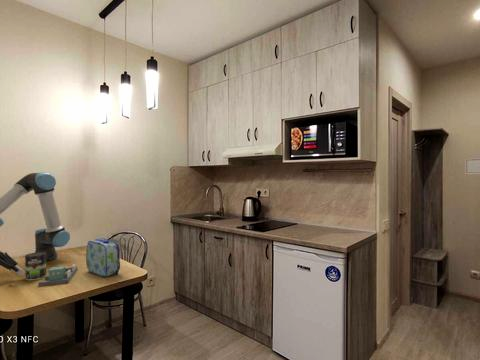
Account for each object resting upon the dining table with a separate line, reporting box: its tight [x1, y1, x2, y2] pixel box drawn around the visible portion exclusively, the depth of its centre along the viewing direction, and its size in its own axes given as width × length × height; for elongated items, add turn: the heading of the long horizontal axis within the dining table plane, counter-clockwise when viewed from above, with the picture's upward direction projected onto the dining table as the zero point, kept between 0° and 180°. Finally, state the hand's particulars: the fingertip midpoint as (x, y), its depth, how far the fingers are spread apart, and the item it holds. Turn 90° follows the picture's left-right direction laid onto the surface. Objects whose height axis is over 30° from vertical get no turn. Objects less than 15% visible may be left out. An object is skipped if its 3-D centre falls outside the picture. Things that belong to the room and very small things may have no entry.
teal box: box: [48, 265, 67, 281], centre depth 163 cm, size 6×7×8 cm
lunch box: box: [85, 238, 121, 278], centre depth 176 cm, size 26×11×21 cm, turn 53°
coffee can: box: [24, 252, 47, 281], centre depth 170 cm, size 10×10×14 cm
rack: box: [37, 264, 78, 287], centre depth 169 cm, size 25×14×5 cm, turn 19°
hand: (23, 274), depth 168 cm, fingers closed
